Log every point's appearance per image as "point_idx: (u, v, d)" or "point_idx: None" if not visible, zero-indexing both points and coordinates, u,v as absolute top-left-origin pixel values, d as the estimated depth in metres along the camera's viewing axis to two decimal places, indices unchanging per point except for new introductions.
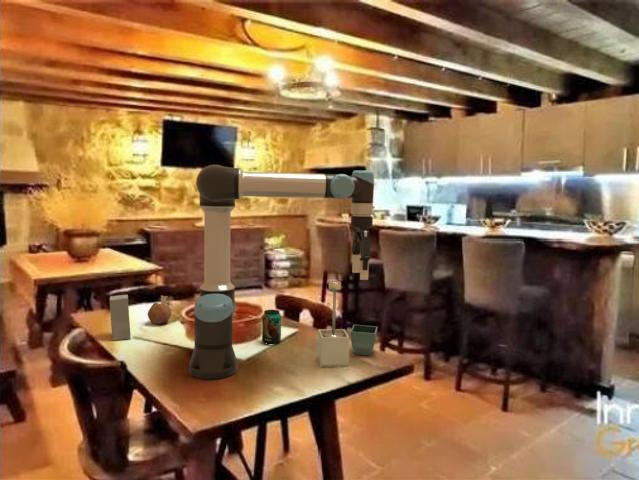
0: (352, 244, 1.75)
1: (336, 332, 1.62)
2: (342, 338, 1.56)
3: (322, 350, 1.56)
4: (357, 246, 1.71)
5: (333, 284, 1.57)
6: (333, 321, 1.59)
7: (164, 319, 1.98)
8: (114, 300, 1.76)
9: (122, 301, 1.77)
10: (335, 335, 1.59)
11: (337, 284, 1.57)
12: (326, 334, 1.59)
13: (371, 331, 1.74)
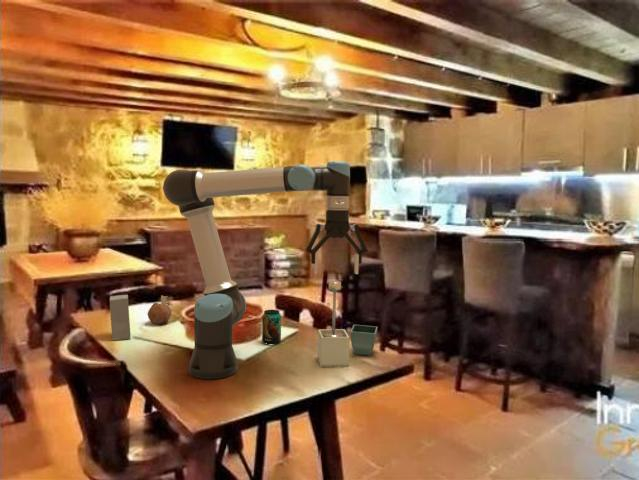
0: None
1: (336, 332, 1.62)
2: (342, 338, 1.56)
3: (322, 350, 1.56)
4: None
5: (333, 284, 1.57)
6: (333, 321, 1.59)
7: (164, 319, 1.98)
8: (114, 300, 1.76)
9: (122, 301, 1.77)
10: (335, 335, 1.59)
11: (337, 284, 1.57)
12: (326, 334, 1.59)
13: (371, 331, 1.74)
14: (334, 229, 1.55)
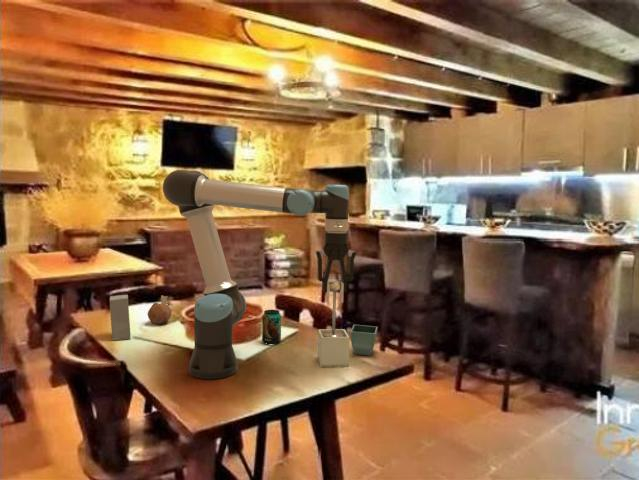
0: None
1: (336, 332, 1.62)
2: (342, 338, 1.56)
3: (322, 350, 1.56)
4: (340, 269, 1.58)
5: (333, 284, 1.57)
6: (333, 321, 1.59)
7: (164, 319, 1.98)
8: (114, 300, 1.76)
9: (122, 301, 1.77)
10: (335, 335, 1.59)
11: (337, 284, 1.57)
12: (326, 334, 1.59)
13: (371, 331, 1.74)
14: (333, 252, 1.55)
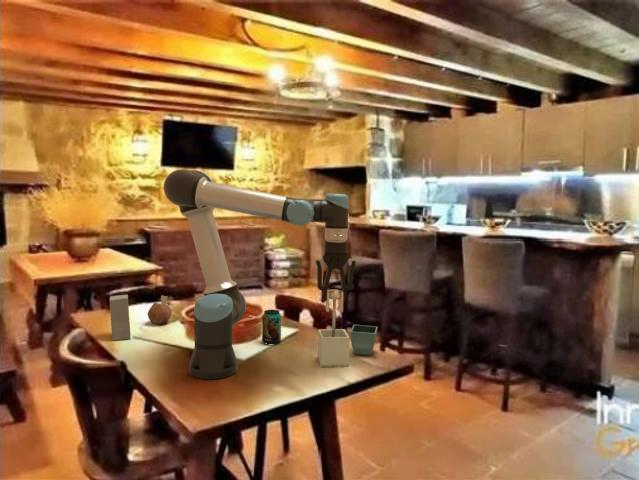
0: None
1: None
2: (342, 338, 1.56)
3: (322, 350, 1.56)
4: (340, 278, 1.59)
5: (333, 293, 1.57)
6: (333, 330, 1.60)
7: (164, 319, 1.98)
8: (114, 300, 1.76)
9: (122, 301, 1.77)
10: None
11: (337, 293, 1.57)
12: None
13: (371, 331, 1.74)
14: (332, 261, 1.56)
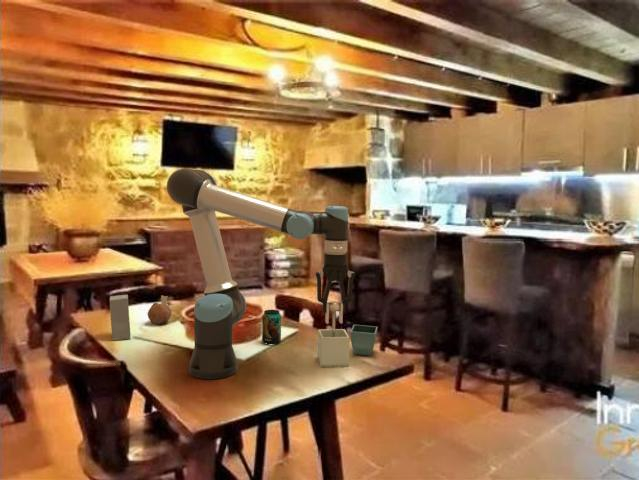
0: None
1: None
2: (342, 338, 1.56)
3: (322, 350, 1.56)
4: (340, 289, 1.59)
5: (332, 305, 1.57)
6: None
7: (164, 319, 1.98)
8: (114, 300, 1.76)
9: (122, 301, 1.77)
10: None
11: (336, 305, 1.57)
12: None
13: (371, 331, 1.74)
14: (332, 273, 1.56)
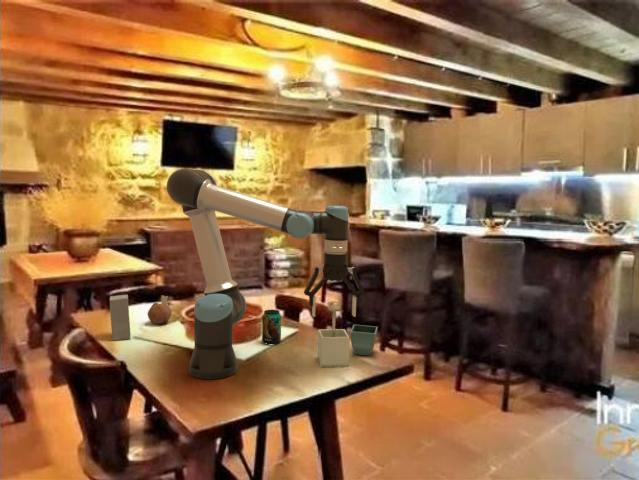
0: None
1: None
2: (342, 338, 1.56)
3: (322, 350, 1.56)
4: None
5: (332, 305, 1.57)
6: None
7: (164, 319, 1.98)
8: (114, 300, 1.76)
9: (122, 301, 1.77)
10: None
11: (336, 305, 1.57)
12: None
13: (371, 331, 1.74)
14: (332, 273, 1.56)
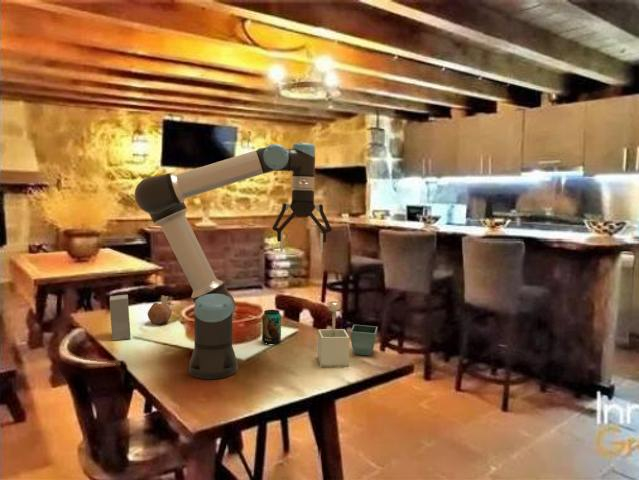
0: None
1: None
2: (342, 338, 1.56)
3: (322, 350, 1.56)
4: None
5: (332, 305, 1.57)
6: None
7: (164, 319, 1.98)
8: (114, 300, 1.76)
9: (122, 301, 1.77)
10: None
11: (336, 305, 1.57)
12: None
13: (371, 331, 1.74)
14: (299, 208, 1.61)
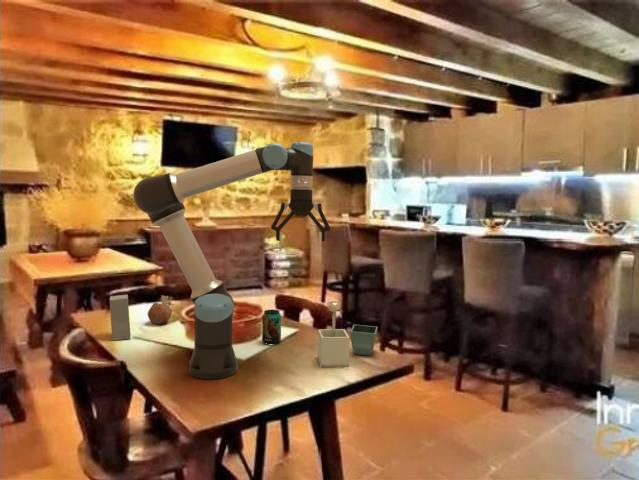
0: None
1: None
2: (342, 338, 1.56)
3: (322, 350, 1.56)
4: (314, 222, 1.65)
5: (332, 305, 1.57)
6: None
7: (164, 319, 1.98)
8: (114, 300, 1.76)
9: (122, 301, 1.77)
10: None
11: (336, 305, 1.57)
12: None
13: (371, 331, 1.74)
14: (298, 207, 1.61)
